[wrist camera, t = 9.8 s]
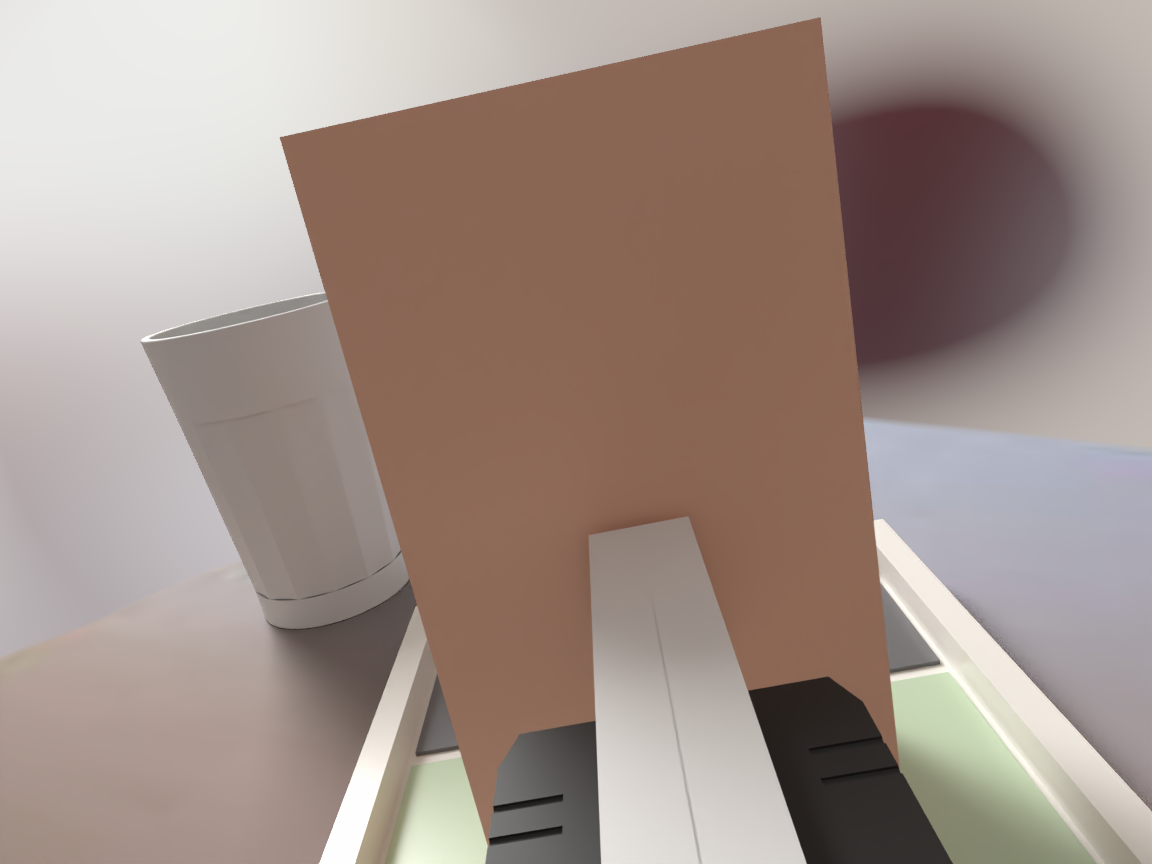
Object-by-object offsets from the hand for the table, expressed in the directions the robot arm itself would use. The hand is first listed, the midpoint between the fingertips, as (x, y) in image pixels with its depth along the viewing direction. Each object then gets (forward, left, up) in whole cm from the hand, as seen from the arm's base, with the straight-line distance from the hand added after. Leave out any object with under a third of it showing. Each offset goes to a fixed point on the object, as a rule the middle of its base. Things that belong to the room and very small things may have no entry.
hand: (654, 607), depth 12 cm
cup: (-13, +20, -8) cm, 26 cm away
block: (0, +3, -7) cm, 7 cm away
